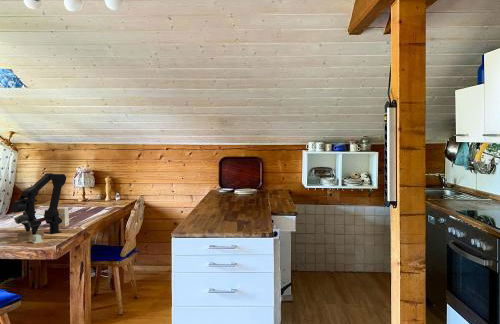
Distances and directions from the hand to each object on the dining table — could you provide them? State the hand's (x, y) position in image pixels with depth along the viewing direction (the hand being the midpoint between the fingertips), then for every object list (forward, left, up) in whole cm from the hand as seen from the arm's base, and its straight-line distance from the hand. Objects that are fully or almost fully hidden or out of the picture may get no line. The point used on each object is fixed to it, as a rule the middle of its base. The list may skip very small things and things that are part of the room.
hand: (30, 234), depth 251 cm
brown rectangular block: (0, 0, -3) cm, 3 cm away
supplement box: (-22, +29, -3) cm, 37 cm away
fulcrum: (+10, 0, -3) cm, 10 cm away
